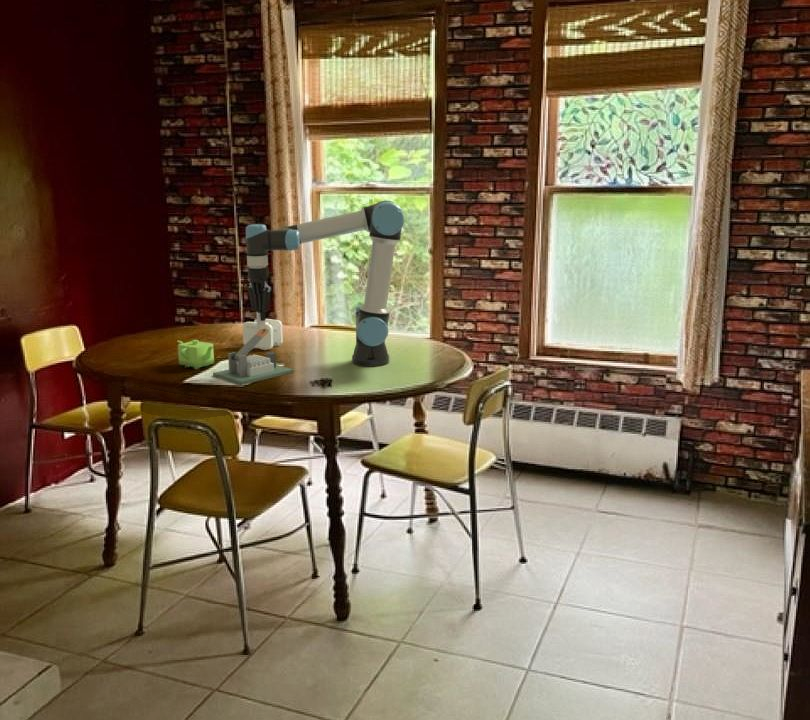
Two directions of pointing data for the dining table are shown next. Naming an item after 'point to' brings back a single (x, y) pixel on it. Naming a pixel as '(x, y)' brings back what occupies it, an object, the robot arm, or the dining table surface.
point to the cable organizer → (269, 339)
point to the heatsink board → (253, 378)
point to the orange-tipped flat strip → (250, 344)
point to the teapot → (195, 354)
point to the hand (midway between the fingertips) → (261, 328)
